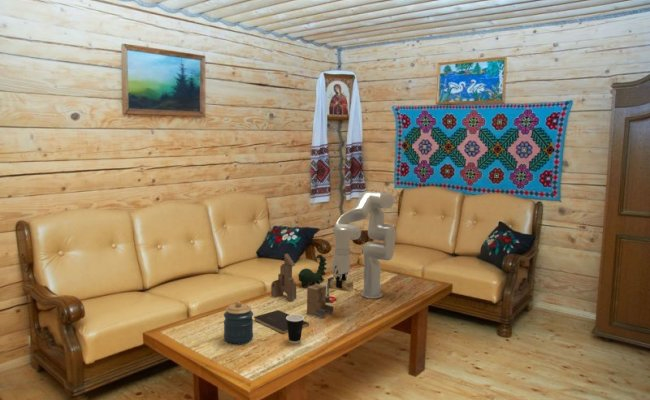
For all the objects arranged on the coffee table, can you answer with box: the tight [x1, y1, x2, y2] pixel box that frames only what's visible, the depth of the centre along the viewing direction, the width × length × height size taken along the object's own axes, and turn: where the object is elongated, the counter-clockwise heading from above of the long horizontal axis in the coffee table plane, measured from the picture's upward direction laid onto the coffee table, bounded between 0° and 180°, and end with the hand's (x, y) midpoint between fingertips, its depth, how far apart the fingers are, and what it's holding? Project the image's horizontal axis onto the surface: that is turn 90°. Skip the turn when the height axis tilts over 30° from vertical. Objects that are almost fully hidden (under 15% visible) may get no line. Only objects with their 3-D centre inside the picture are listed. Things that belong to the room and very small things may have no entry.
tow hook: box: [326, 282, 337, 303], centre depth 280 cm, size 8×13×9 cm
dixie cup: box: [286, 314, 305, 344], centre depth 222 cm, size 8×8×11 cm
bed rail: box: [327, 276, 354, 292], centre depth 253 cm, size 13×4×5 cm, turn 55°
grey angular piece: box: [306, 283, 335, 319], centre depth 257 cm, size 8×11×14 cm
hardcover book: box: [253, 309, 309, 335], centre depth 244 cm, size 16×23×2 cm
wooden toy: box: [270, 253, 297, 302], centre depth 281 cm, size 16×7×25 cm, turn 52°
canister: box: [223, 300, 254, 346], centre depth 223 cm, size 13×13×18 cm
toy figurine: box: [297, 253, 327, 288], centre depth 307 cm, size 9×19×25 cm
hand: (341, 286), depth 253 cm, fingers closed on bed rail, 3 cm apart
